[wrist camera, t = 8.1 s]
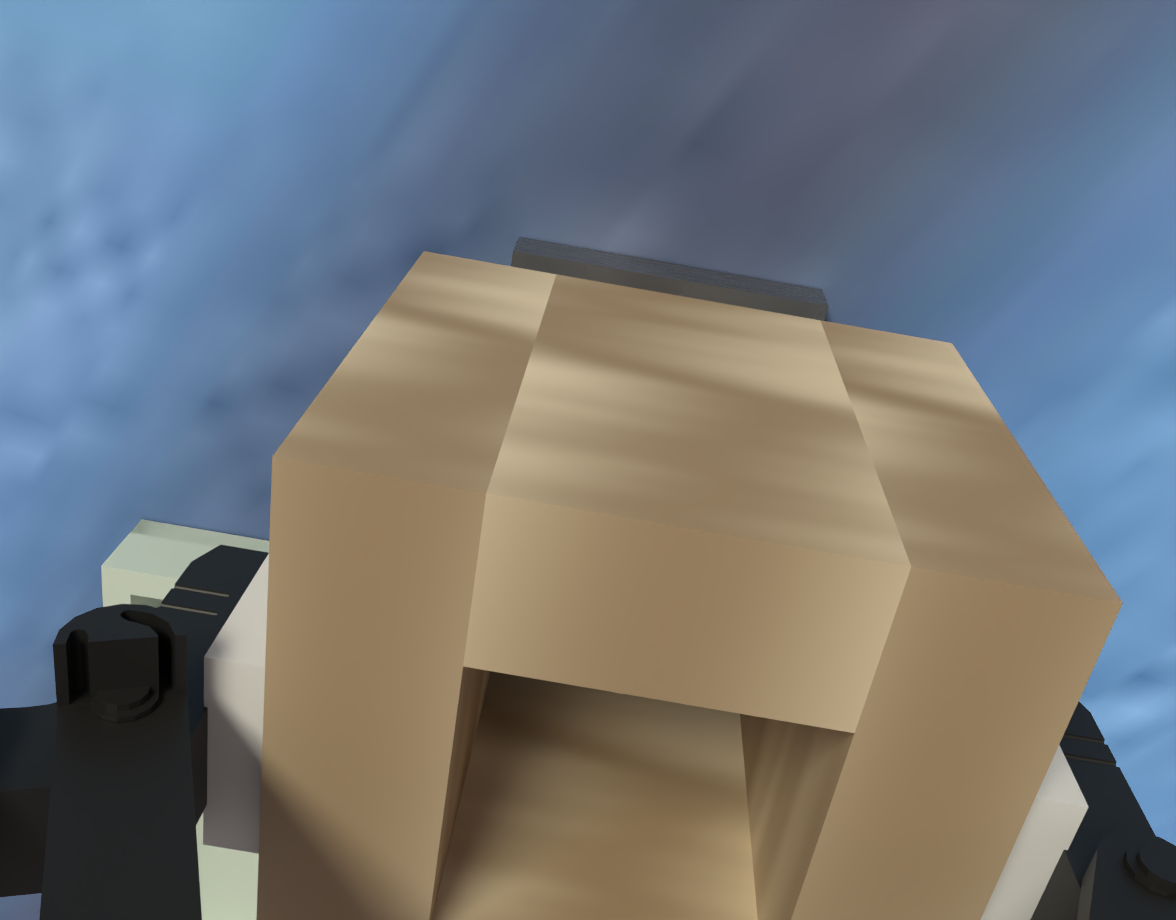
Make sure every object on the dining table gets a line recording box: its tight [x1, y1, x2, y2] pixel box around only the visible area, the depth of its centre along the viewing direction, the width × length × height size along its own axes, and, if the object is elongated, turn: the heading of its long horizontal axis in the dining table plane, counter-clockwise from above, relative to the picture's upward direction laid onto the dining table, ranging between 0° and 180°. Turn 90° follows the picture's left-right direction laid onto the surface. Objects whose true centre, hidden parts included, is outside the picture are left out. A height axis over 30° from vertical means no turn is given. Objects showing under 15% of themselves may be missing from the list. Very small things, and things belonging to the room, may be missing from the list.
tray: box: [101, 519, 269, 920], centre depth 27 cm, size 13×13×2 cm
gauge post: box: [511, 237, 828, 695], centre depth 19 cm, size 6×6×8 cm
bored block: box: [256, 251, 1123, 920], centre depth 15 cm, size 8×8×7 cm
